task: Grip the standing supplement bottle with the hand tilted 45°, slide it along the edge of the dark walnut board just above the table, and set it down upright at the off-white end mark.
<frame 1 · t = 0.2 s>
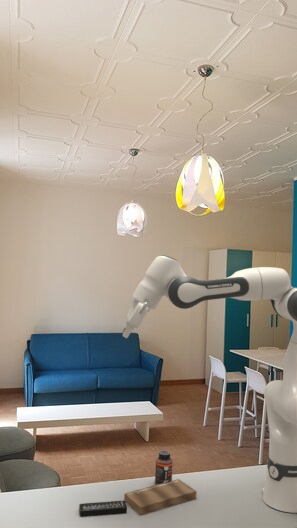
hand: (124, 335, 148), 54 cm above the table, tool tilted 30°, fingers open, 8 cm apart
multiport hub: (102, 513, 141), on the table
walnut board: (160, 499, 149), on the table
supplement bottle: (163, 485, 160), on the table
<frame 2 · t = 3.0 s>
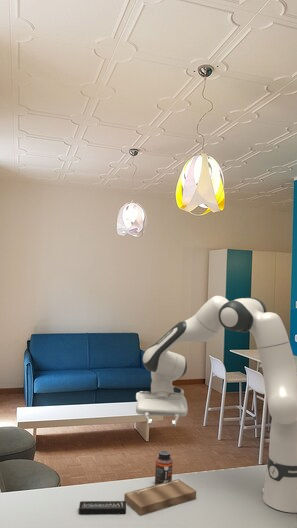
hand: (161, 425, 172), 17 cm above the table, tool tilted 45°, fingers open, 8 cm apart
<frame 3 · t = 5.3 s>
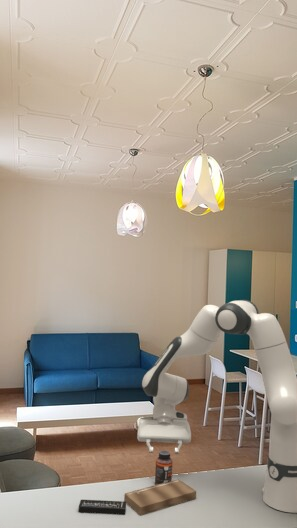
hand: (164, 453, 164), 9 cm above the table, tool tilted 45°, fingers open, 8 cm apart
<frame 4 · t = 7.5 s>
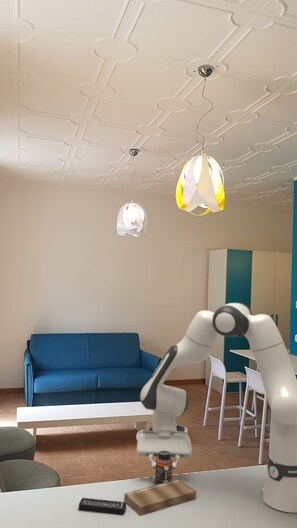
hand: (164, 468, 160), 6 cm above the table, tool tilted 45°, fingers closed on supplement bottle, 6 cm apart
supplement bottle: (163, 485, 160), on the table, touching gripper
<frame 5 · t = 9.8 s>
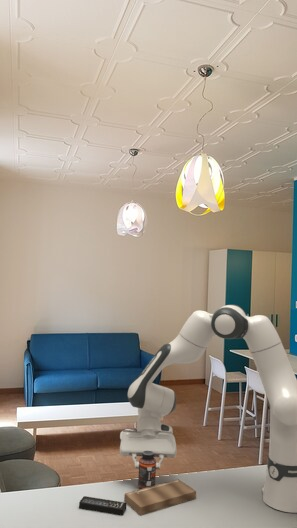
hand: (147, 468, 156), 7 cm above the table, tool tilted 45°, fingers closed on supplement bottle, 6 cm apart
supplement bottle: (146, 486, 157), point 1 cm above the table, touching gripper
when the fingers open (6 cm above the table, at t = 12.0 s): supplement bottle stays where it is, on the table.
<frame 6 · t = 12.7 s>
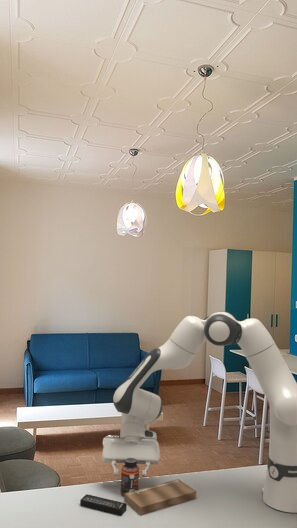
hand: (130, 475, 152), 6 cm above the table, tool tilted 45°, fingers open, 8 cm apart
supplement bottle: (129, 494, 153), on the table
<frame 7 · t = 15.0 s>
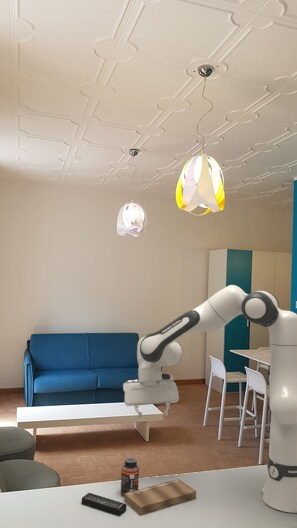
hand: (152, 416, 165), 23 cm above the table, tool tilted 25°, fingers open, 8 cm apart
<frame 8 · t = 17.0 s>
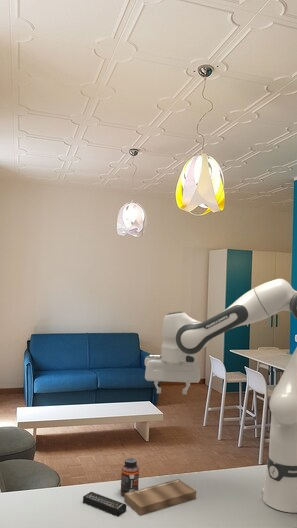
hand: (171, 393, 165), 31 cm above the table, tool pointing down, fingers open, 8 cm apart
at the end: supplement bottle 0.2 cm from the target spot, on the table; supplement bottle tilted 0°; the gripper is holding nothing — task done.
